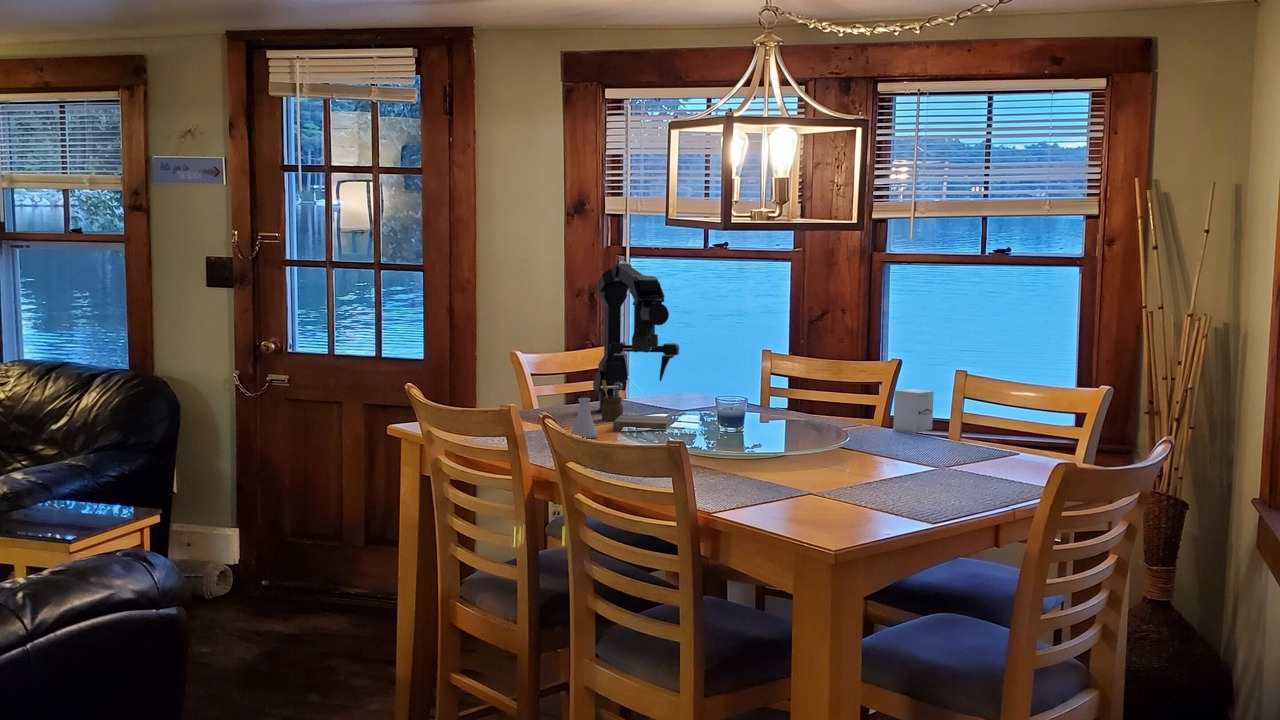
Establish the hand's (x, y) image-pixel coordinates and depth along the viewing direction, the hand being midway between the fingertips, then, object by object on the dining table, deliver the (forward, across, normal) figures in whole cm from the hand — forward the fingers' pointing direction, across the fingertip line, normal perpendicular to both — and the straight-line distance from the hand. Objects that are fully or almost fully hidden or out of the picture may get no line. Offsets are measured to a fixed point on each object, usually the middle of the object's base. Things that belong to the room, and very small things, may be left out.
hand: (643, 380), depth 311 cm
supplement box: (+13, +71, -7) cm, 73 cm away
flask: (+13, -13, -20) cm, 27 cm away
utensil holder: (+13, -10, +9) cm, 19 cm away
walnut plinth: (+13, 0, -2) cm, 13 cm away
